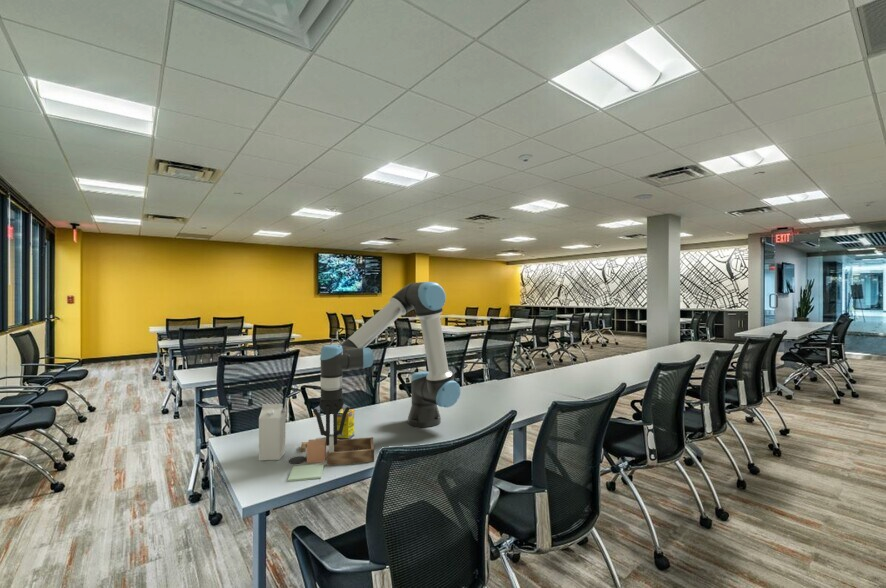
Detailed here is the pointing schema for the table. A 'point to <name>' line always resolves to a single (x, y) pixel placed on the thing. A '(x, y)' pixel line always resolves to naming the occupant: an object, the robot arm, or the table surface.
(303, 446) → the oak crook tool
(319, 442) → the terracotta block
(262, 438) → the milk carton
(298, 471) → the felt pad
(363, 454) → the walnut stall
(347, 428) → the supplement box
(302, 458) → the hole disc
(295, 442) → the table surface
